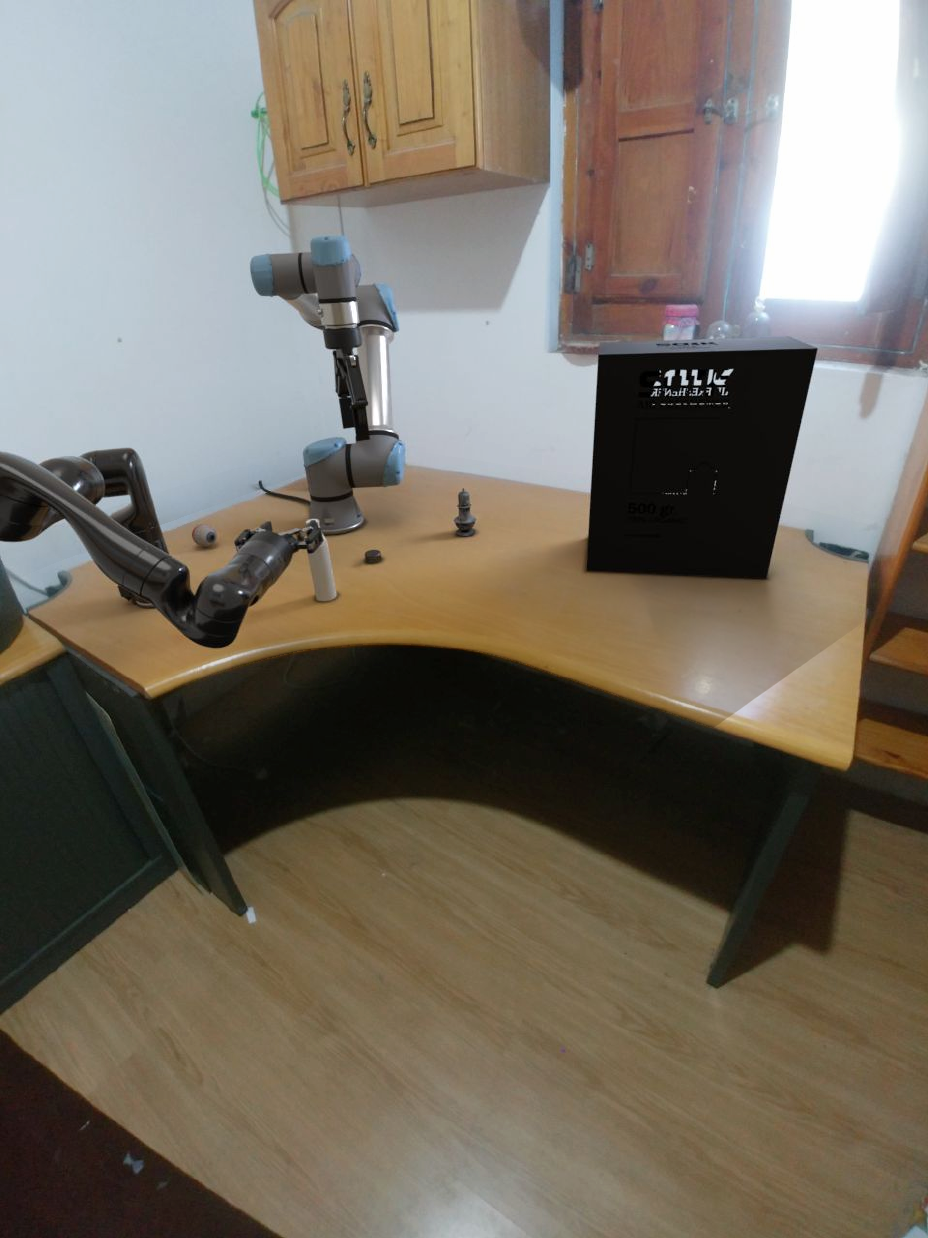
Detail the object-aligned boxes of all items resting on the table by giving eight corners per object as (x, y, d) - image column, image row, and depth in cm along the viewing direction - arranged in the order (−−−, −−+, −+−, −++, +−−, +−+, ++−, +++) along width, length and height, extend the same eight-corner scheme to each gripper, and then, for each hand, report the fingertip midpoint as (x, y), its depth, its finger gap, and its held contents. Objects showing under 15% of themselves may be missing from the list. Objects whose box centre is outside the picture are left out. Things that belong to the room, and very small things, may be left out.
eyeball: (205, 552, 157) (199, 530, 154) (190, 548, 160) (184, 526, 157) (224, 544, 161) (219, 522, 158) (209, 540, 164) (203, 519, 161)
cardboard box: (748, 541, 145) (788, 336, 123) (766, 578, 128) (817, 348, 106) (588, 536, 153) (599, 342, 130) (586, 571, 136) (598, 354, 113)
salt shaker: (474, 536, 157) (472, 491, 151) (452, 536, 158) (449, 491, 152) (478, 528, 161) (476, 484, 155) (457, 527, 163) (454, 484, 157)
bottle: (328, 590, 134) (315, 515, 126) (340, 595, 132) (327, 519, 123) (312, 597, 132) (297, 521, 123) (324, 603, 129) (309, 526, 120)
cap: (362, 560, 147) (361, 553, 146) (375, 555, 150) (373, 548, 149) (372, 565, 145) (371, 557, 144) (384, 559, 147) (383, 552, 146)
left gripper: (224, 583, 101) (259, 544, 115) (307, 582, 99) (333, 543, 113) (212, 541, 97) (250, 507, 111) (299, 539, 96) (326, 505, 110)
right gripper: (312, 324, 130) (328, 425, 141) (334, 331, 110) (351, 448, 121) (346, 321, 133) (359, 421, 143) (374, 328, 112) (387, 443, 123)
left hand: (292, 525), depth 112 cm, fingers open, 8 cm apart
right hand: (356, 433), depth 132 cm, fingers open, 13 cm apart
